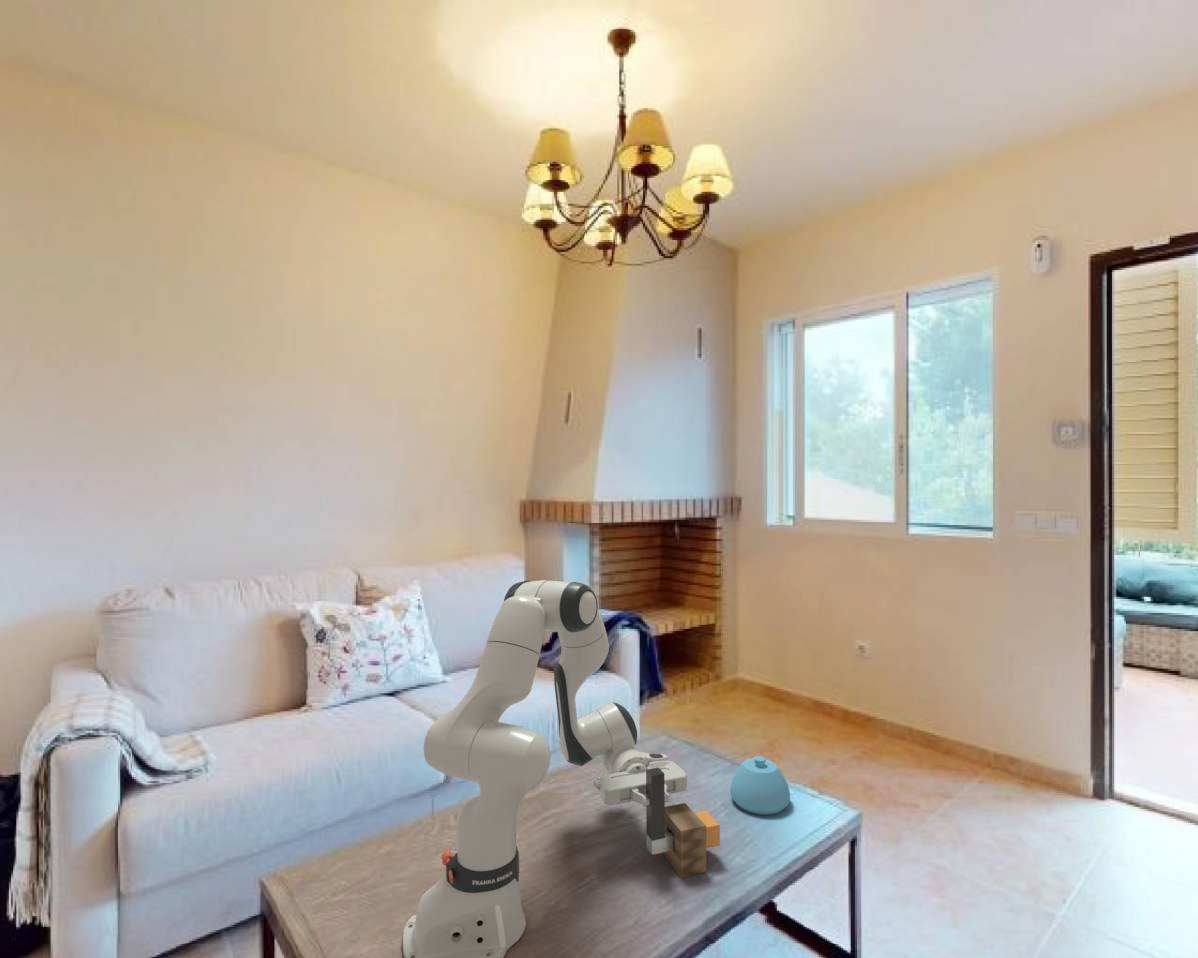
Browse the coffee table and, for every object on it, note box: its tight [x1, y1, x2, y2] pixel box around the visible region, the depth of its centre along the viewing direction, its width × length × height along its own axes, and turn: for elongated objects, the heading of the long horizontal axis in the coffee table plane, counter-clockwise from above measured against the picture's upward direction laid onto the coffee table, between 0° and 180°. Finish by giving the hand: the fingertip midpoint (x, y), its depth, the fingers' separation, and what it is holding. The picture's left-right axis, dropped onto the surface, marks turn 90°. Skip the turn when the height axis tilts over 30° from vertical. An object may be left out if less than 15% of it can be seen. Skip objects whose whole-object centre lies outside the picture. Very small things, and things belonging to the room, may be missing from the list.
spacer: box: [694, 810, 721, 849], centre depth 143 cm, size 4×6×5 cm, turn 19°
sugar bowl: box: [729, 755, 791, 816], centre depth 166 cm, size 15×15×12 cm
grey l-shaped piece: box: [645, 768, 675, 856], centre depth 141 cm, size 16×3×17 cm, turn 109°
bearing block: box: [661, 802, 707, 879], centre depth 141 cm, size 6×10×10 cm, turn 19°
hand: (657, 800), depth 138 cm, fingers closed on grey l-shaped piece, 3 cm apart
